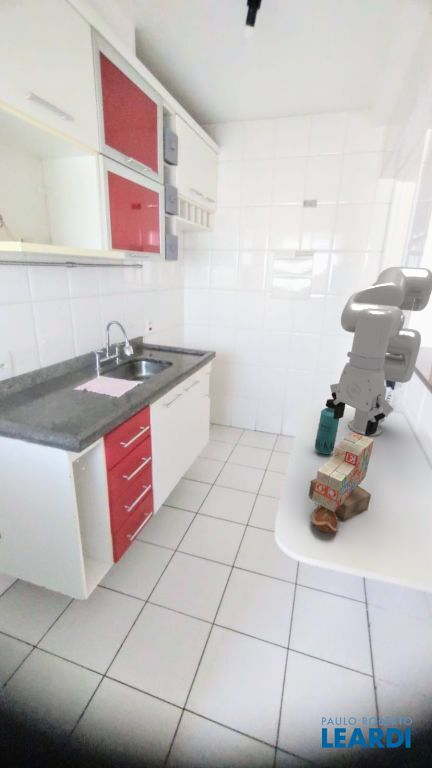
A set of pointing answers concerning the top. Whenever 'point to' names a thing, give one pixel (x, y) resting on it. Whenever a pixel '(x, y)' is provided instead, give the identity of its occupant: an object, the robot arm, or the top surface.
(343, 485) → the stack of blocks
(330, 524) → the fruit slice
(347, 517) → the walnut base brick
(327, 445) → the beverage bottle
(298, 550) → the top surface
